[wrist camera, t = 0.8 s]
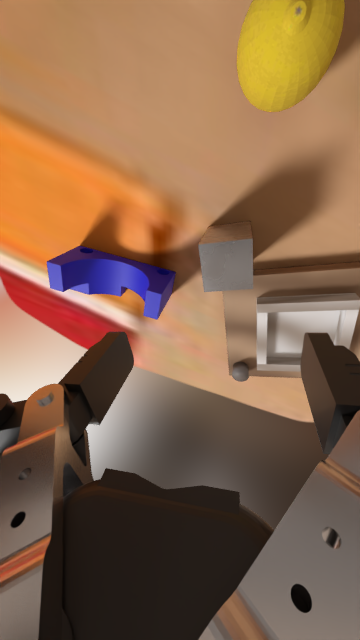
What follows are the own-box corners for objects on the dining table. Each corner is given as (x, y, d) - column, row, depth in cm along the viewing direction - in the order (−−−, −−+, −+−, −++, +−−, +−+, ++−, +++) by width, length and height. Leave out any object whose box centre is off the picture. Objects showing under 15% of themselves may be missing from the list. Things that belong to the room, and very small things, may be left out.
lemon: (338, 49, 16) (406, -35, 9) (277, 137, 19) (295, 121, 12) (275, -11, 15) (301, -147, 9) (222, 90, 18) (211, 47, 12)
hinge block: (209, 226, 24) (198, 244, 18) (250, 220, 23) (252, 238, 17) (212, 264, 26) (204, 291, 20) (250, 261, 25) (253, 289, 19)
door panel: (222, 272, 26) (220, 283, 23) (398, 258, 22) (418, 270, 19) (229, 367, 33) (228, 383, 31) (363, 370, 29) (375, 390, 26)
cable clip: (82, 278, 31) (52, 300, 26) (80, 245, 28) (46, 261, 23) (169, 303, 30) (155, 330, 25) (176, 271, 27) (161, 294, 22)
